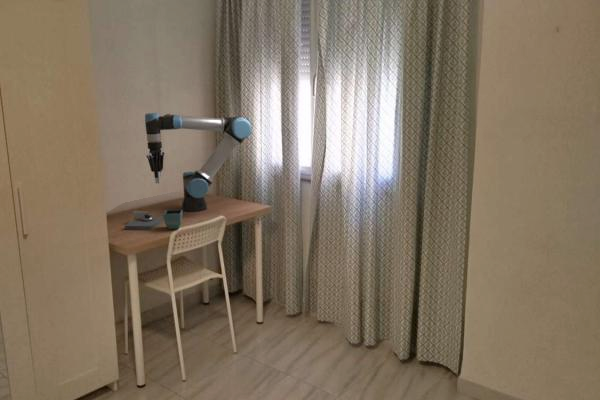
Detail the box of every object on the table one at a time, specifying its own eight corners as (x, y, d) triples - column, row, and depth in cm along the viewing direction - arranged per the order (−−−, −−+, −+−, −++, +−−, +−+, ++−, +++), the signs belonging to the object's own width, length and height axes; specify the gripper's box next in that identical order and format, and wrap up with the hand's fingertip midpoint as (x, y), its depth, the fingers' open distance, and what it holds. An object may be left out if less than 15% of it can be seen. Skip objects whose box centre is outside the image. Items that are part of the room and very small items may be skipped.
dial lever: (155, 218, 278) (154, 211, 277) (149, 221, 272) (149, 213, 271) (137, 217, 281) (136, 209, 280) (130, 220, 275) (130, 212, 274)
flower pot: (167, 226, 271) (166, 209, 269) (183, 225, 272) (182, 209, 270) (164, 230, 263) (163, 214, 261) (181, 230, 264) (180, 213, 262)
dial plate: (163, 219, 284) (163, 216, 283) (151, 229, 264) (150, 225, 264) (138, 219, 284) (138, 215, 284) (125, 229, 265) (124, 225, 264)
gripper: (156, 139, 286) (160, 180, 292) (141, 142, 274) (145, 185, 280) (167, 140, 283) (171, 181, 289) (152, 143, 272) (156, 185, 277)
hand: (158, 183), depth 284 cm, fingers closed
